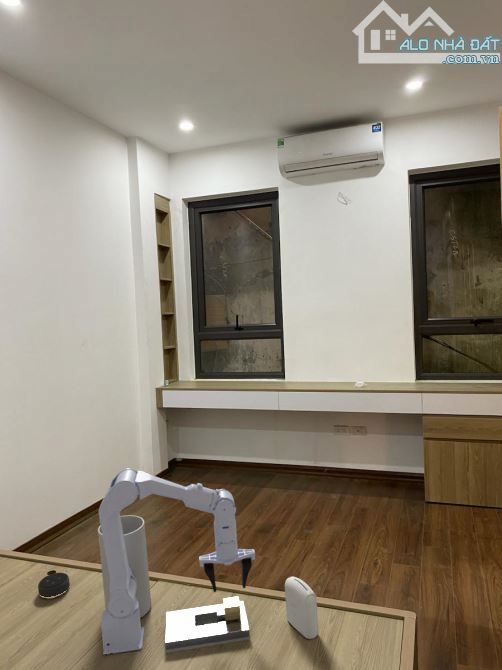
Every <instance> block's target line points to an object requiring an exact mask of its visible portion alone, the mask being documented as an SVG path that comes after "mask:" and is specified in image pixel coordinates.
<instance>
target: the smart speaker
mask: <svg viewBox="0 0 502 670" xmlns="http://www.w3.org/2000/svg"><path fill="white" fill-rule="evenodd" d="M69 586H70V587H71V585H70V576H69V575H68V574H66V573H64V572H53V573H51V574H48V575H46V576H44V577H43V578H42V579H41V580H39V582H38V585H37V589H38V595H39V594H40V595H41V596H44V597H51V596H56V595H58V594H61V593H63V592H64V591H66V590H67V589H68V588H69V589H70V587H69ZM69 589H68V590H69Z"/></svg>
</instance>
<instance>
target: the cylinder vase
mask: <svg viewBox="0 0 502 670" xmlns="http://www.w3.org/2000/svg"><path fill="white" fill-rule="evenodd" d="M120 518H121V524H122V530H123V535H124V541H125V547H126V553H127V559H128V564H129V567H130V568H131V571H132V575H133V576H134V577H135V579H136V580H137V584H138V585H137V590H136V594H135V597H136V599H137V601H138V602H139V612H140V619H142V618H143V617H145V614H146V615H147V614H148V612H149V611H150V609H151V606H152V596H151V595H152V594H151V585H150V583H151V582H150V572H149V562H148V551H147V548H148V547H147V539H146V527H145V520H144V518H143V517H141V516H138V515H134V514H133V515H132V514H131V515H120ZM97 533H98V543H99V555H100V564H101V574H102V575H101V576H102V577H101V578H102V585H103V587H102V588H103V596H104V606H105V609H104V610H106V609H108V604H109V600H110V575H109V569H108V564H107V558H106V552H105V546H104V541H103V535H102V529H101V524H100V525H99V527H98V528H97ZM141 617H142V618H141Z"/></svg>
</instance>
